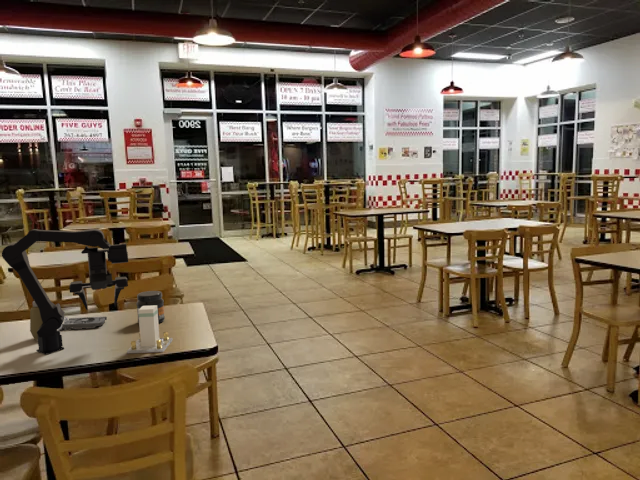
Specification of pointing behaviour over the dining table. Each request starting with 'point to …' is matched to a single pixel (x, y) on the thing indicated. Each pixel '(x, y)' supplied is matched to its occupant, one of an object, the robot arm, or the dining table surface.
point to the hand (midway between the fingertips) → (101, 308)
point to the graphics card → (82, 323)
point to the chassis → (160, 346)
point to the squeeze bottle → (35, 320)
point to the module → (148, 325)
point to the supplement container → (151, 302)
